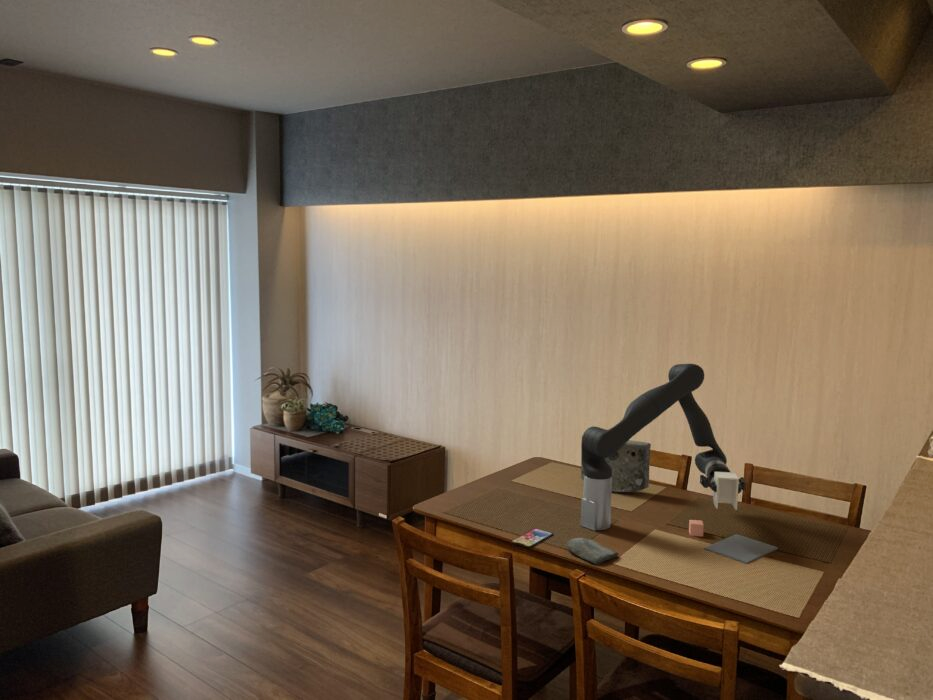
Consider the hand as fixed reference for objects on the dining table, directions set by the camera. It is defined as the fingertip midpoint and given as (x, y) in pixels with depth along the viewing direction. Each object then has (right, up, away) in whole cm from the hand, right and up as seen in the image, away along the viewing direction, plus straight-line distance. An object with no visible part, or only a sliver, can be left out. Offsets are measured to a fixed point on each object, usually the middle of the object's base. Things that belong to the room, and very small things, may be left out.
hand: (727, 489), depth 225 cm
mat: (+4, -18, -1) cm, 19 cm away
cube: (-6, -17, +11) cm, 21 cm away
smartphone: (-60, -17, +6) cm, 63 cm away
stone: (-44, -19, -5) cm, 48 cm away
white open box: (0, -6, +3) cm, 6 cm away
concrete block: (-24, -11, +57) cm, 63 cm away
